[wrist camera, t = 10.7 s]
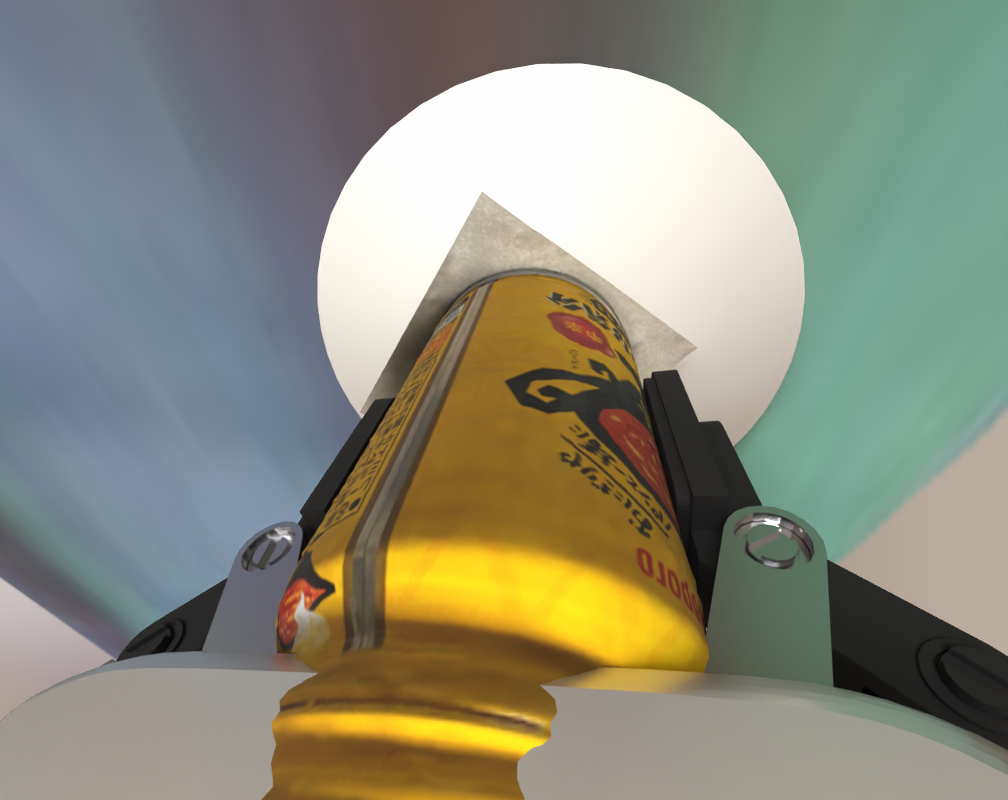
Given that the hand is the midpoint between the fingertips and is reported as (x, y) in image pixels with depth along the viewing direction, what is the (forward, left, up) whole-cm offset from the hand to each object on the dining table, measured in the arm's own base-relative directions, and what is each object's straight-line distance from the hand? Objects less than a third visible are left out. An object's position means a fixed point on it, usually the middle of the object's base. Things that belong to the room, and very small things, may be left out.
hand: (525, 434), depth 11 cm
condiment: (-1, 0, -3) cm, 3 cm away
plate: (0, 0, -5) cm, 5 cm away
